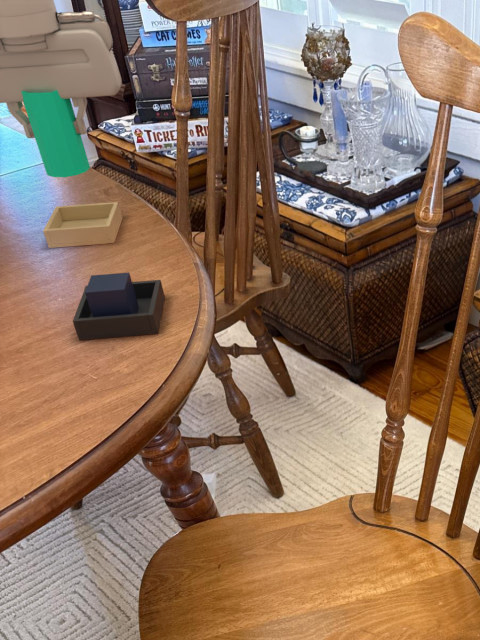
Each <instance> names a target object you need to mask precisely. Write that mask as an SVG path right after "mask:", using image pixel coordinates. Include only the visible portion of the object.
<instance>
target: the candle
mask: <svg viewBox="0 0 480 640" xmlns="http://www.w3.org/2000/svg"><path fill="white" fill-rule="evenodd" d="M21 92H22V95H23V102H22V104H23V106H24V109H25V111H26V116H27V117H28V118H29V121H30V124H31V127H32V130H33V133H34V136H35V138H34V139H35V143H36V145H37V148H38V151H39V155H40V157H41V161H42V164H43V166H44V169H45V173H46V176H48V177H53V178H68V177H73V176H75V177H76V176H79V175H82V174H84V173H87V171H89V170H90V169H91V166H90V163H89V158H88V155H87V151H86V149H85V146H84V142H83V138H82V135H78V134H77V133H76V130H75V127H74V124H73V121H74V120H75V119H76V117H77V116H76V115H75V111H74V108H73V107H74V106H73V103H72V99H71V98H68V99H62V98H61V97H60V95H59V93H58V90H55V91H53V92H46V93H29V92H26V91H21Z"/></svg>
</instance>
